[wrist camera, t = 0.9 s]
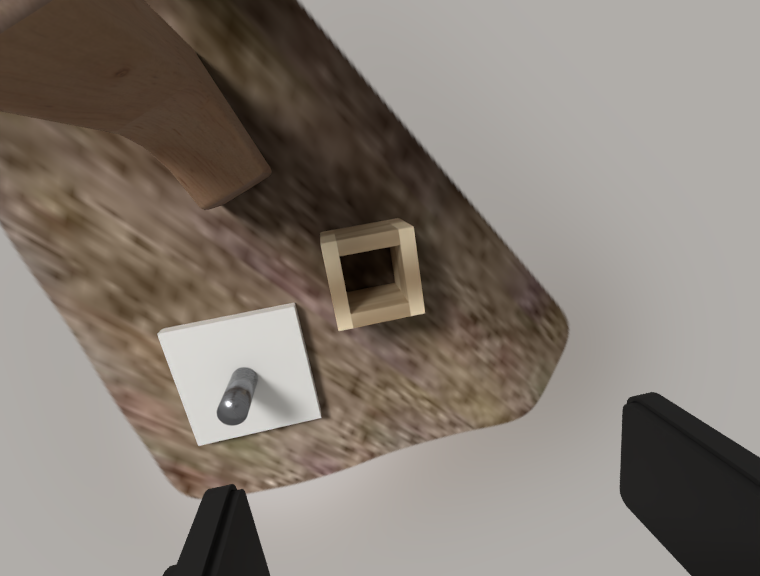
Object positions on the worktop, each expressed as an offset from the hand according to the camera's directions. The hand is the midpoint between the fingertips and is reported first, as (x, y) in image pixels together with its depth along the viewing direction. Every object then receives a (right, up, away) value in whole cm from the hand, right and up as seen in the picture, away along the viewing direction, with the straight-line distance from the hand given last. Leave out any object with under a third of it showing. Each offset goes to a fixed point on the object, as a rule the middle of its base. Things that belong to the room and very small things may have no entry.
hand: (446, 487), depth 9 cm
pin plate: (-12, -2, +22) cm, 25 cm away
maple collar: (-3, +7, +21) cm, 22 cm away
